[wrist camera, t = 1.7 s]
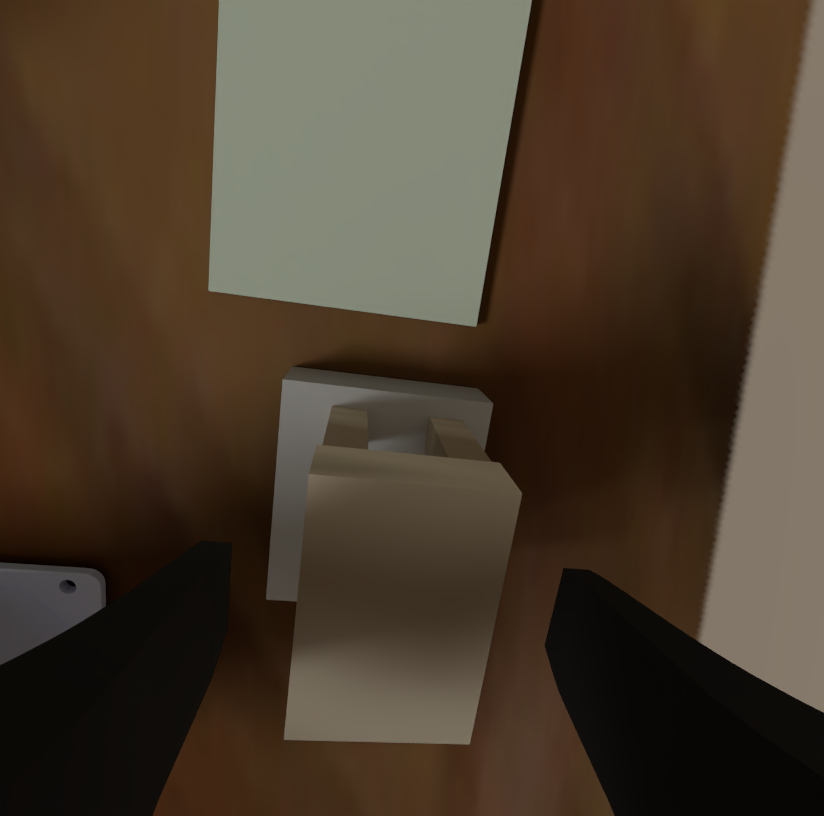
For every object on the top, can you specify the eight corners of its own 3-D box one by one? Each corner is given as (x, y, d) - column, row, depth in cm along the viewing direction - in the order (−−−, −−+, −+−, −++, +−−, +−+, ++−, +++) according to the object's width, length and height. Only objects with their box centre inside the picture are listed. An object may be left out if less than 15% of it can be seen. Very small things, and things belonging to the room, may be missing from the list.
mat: (212, 290, 15) (208, 290, 14) (226, -73, 12) (222, -84, 12) (473, 325, 16) (476, 327, 15) (529, -5, 14) (534, -13, 13)
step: (276, 563, 17) (265, 599, 15) (292, 366, 16) (282, 379, 14) (444, 574, 18) (455, 610, 16) (477, 388, 16) (493, 403, 14)
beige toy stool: (436, 596, 16) (469, 744, 11) (309, 588, 15) (283, 739, 10) (467, 417, 14) (522, 493, 9) (328, 401, 14) (308, 473, 9)
